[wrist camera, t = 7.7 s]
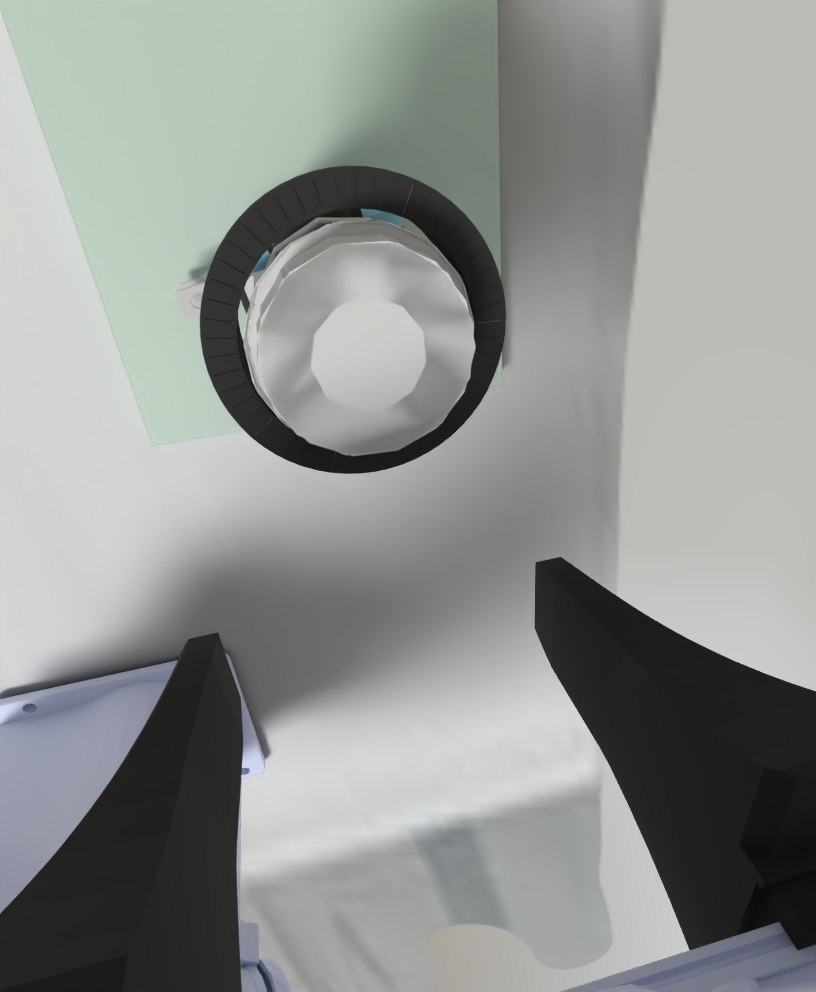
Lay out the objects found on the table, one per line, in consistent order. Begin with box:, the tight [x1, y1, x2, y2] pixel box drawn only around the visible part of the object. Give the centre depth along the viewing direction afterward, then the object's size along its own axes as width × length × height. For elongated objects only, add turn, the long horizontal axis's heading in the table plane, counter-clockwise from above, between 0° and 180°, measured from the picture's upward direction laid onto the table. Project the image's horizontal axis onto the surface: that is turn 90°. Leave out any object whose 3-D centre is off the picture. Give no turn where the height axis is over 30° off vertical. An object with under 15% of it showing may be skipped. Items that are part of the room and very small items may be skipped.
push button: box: [175, 165, 506, 474], centre depth 14 cm, size 7×5×10 cm
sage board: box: [0, 0, 502, 447], centre depth 18 cm, size 12×12×1 cm
